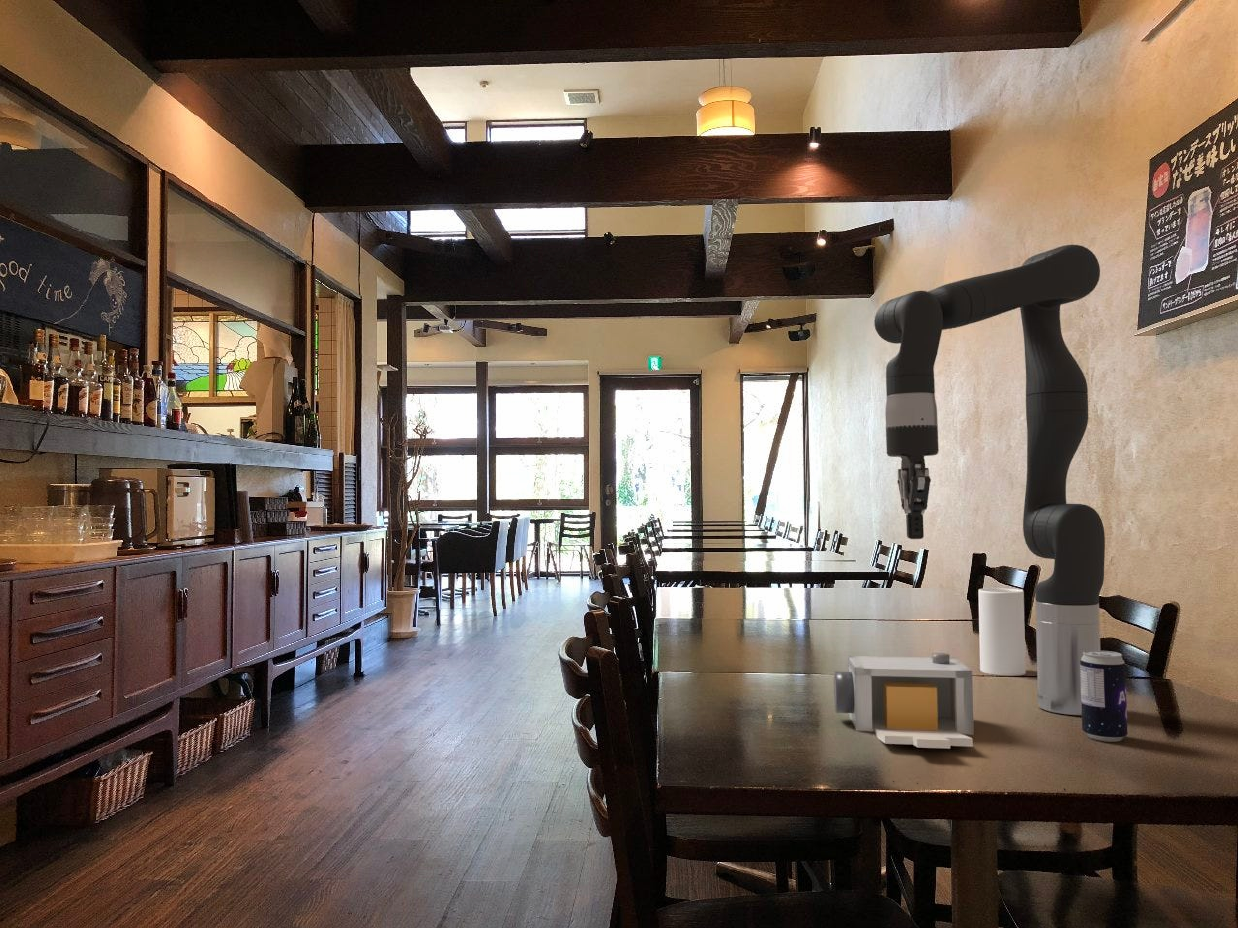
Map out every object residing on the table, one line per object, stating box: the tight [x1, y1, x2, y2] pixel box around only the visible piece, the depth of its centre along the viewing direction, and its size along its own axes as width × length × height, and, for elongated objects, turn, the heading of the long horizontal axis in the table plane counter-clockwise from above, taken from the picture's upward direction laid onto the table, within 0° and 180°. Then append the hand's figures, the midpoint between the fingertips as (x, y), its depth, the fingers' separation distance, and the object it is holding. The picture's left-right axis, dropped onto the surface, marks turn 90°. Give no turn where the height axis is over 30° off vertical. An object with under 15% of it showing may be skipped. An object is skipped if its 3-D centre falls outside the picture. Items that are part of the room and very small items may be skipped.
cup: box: [977, 587, 1027, 677], centre depth 173 cm, size 8×8×16 cm
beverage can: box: [1080, 649, 1129, 743], centre depth 125 cm, size 6×6×12 cm
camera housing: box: [833, 652, 974, 735], centre depth 130 cm, size 18×10×11 cm, turn 81°
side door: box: [874, 728, 974, 750], centre depth 117 cm, size 11×1×13 cm
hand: (915, 538), depth 133 cm, fingers closed
